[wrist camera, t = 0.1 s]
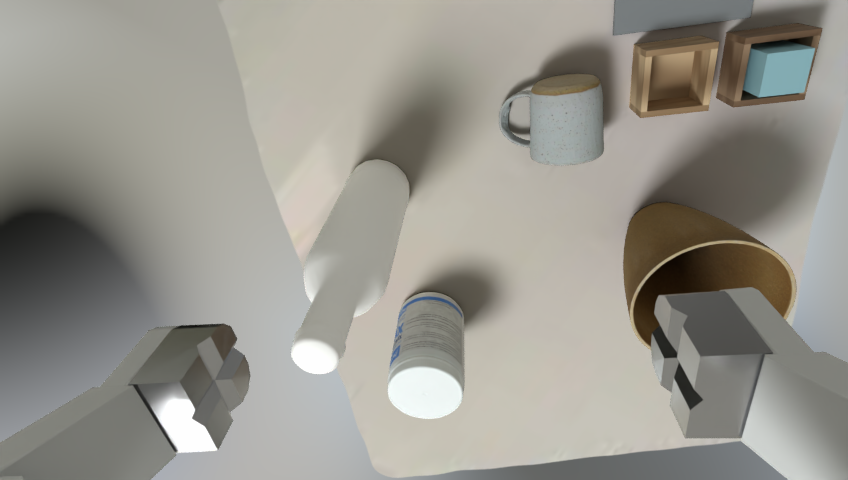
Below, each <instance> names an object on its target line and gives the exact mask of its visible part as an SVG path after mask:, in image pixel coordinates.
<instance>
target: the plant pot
mask: <svg viewBox="0 0 848 480" xmlns="http://www.w3.org/2000/svg"><path fill="white" fill-rule="evenodd" d="M623 270H624V286H625V293H626V299H627V305H628V311H629V316H630V320H631V325H632V328H633V331H634V333H635V334H636V336H637V338H638V339H639V340H640V341H641V342H642V343H643V344H644V345H645V346H646V347H647V348H649V349H650V350H651V338H652V332H653V331H654V330H655V329H656V328H657V327H658V326H659V325H660V324H659V322H658V320H657V318H656V316H655V314H654V311H655V304H656V300H657V298H658V296H659V295H669V294H683V293H697V292H711V291H720V290H726V289H737V288H748V287H752V288H755V289H757V290H759V291H760V292H761V293H762V295H763V296H764V297H765V298H766V299H767V300H768V301H769V302H770V304H771V305H772V306H773V307H774V308H775V309H776V310H777V311H778V313H779V314H780V315H781V316H782V317H783V318H784V319H785V320H786V319H787V317H788V315H789V313H790V311H791V309H792V307H793V305H794V302H795V297H796V280H795V277H794V274H793V271H792V269H791V267H790V266H789V264H788V263H787V262H786V261H785V260H784V259H783V258H782V257H781V256H780V255H779V254H778V253H776V252H775V251H773V250H772V249H770V248H769V247H767V246H766V245H764V244H763V243H761V242H760V241H758V240H756V239H755V238H753V237H752V236H750V235H749V234H747V233H745V232H743V231H742V230H740V229H738V228H736V227H734V226H732V225H730V224H729V223H727V222H725V221H723V220H721V219H718V218H716V217H714V216H712V215H709V214H707V213H704V212H702V211H699V210H696V209H693V208H690V207H686V206H683V205H679V204H674V203H668V202H660V203H655V204H651V205H649V206H646V207H645V208H643V209H641V210H640V211H639V212H638V213H636V214H635V216H634V217H633V218H632V219H631V221H630V223H629V226H628V229H627V234H626V239H625V247H624V261H623Z"/></svg>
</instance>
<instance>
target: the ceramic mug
mask: <svg viewBox="0 0 848 480" xmlns="http://www.w3.org/2000/svg"><path fill="white" fill-rule="evenodd" d="M521 97H530V141H529V140H524V139H521V138H519V137H517V136H515V135H514V134H513V133H512V132H511V131H510V129H509V126H508V114H509V111H510V106H509V105H510V102H511V101H513V100H514V99H516V98H521ZM499 125H500V129H501V131H502V133H503V135H504V136H505V137H506V138H507V139H508V140H510V141H511V142H513V143H515V144H517V145H520V146H523V147H529V148H530V156H531V158H532V159H533V160H534V161H536V162H539V163H542V164H546V165H557V166H564V165H575V164H581V163H586V162H590V161H593V160H595V159H597V158H598V157H600V156H601V155H602V153H603V151H604V140H603V93H602V88H601V83H600V80H599V79H598V78H597V77H596V76H594V75H591V74H567V75H560V76H554V77H549V78H546V79H543V80H540V81H538V82H537V83H535V85H534V86H533V87H532V90H531V91H522V92H519V93H516V94H514V95H512V96H511V97H509V98H508V99H507V100H506V101H505V102H504V104H503V105H502V107H501V110H500V114H499Z"/></svg>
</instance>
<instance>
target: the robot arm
mask: <svg viewBox="0 0 848 480" xmlns="http://www.w3.org/2000/svg"><path fill="white" fill-rule="evenodd" d="M654 314H655V316H656V318H657V320H658V322H659V324H660V325H659V326H658V327H657V328H656V329H655V330H654V331H653V332H652V338H651V354H652V362H653V366H654V369H655V373H656V375H657V378H658V380H659V382H660V385H661V386H663V387H664V388H666V389H667V390H669V391H670V392H672V395H671V402H670V407H671V409H672V411H673V413H674V415H675V417H676V420H677V422H678V424H679V426H680V428H681V430H682V433H683V435H684V437H685V438H742V439H741V441H742V442H743V443H744V444H746V445H747V446H748V447H749V448H751V449H752V450H753V451H754V452H755V453H757V454H758V455H759V456H760V457H761V458H763V459H764V460H765V461H766V462H768V463H769V464H770V465H771V466H772V467H774V468H775V469H776V470H777V471H778V472H780V473H781V474H782V475H783V476H784V477H786V478H787V479H788V480H848V363H847V362H845V361H843V360H840V359H838V358H836V357H834V356H832V355H830V354H828V353H826V352H813V351H812V350H811V348H810V347H809V346H808V345H807V344H806V343H805V342H804V341H803V339H802V338H801V337H800V336H799V335H798V334H797V333H796V332H795V331H794V329H793V328H792V327H791V326H790V325H789V324H788V323H787V322H786V320H785V319H784V318H783V317H782V316H781V315H780V314H779V313H778V311H777V310H776V309H775V308H774V307H773V306H772V305H771V304H770V302H769V301H768V300H767V299H766V298H765V297H764V296H763V295H762V293H761V292H760V291H759V290H757V289H755V288H752V287H748V288H737V289H726V290H720V291H711V292H697V293H683V294H669V295H659V296H658V298H657V300H656V304H655V311H654ZM236 341H237V337H236V336H235V334H234V332H233V330H232V328H231V327H230V326H228V325H226V324H205V325H181V326H166V327H156V328H154V329H151V330H149V331H148V332H147V333H146V334H145V336H144V337H143V338H142V339H141V340H140V341H139V343H138V344H137V345H136V346H135V347H134V348H133V349H132V351H131V352H130V353H129V354H128V355H127V356H126V357H125V359H124V360H123V361H122V362H121V363H120V364H119V366H118V367H117V368H116V369H115V370H114V371H113V373H112V374H111V375H110V376H109V377H108V378H107V379H106V381H105V382H104V383H103V384H102V385H101V386H100V387H93V388H91V389H89V390H87V391H86V392H84V393H83V394H81V395H79V396H78V397H76V398H74V399H72V400H71V401H69V402H68V403H66V404H64V405H62V406H61V407H59V408H58V409H56V410H55V411H52V412H51V413H49V414H47V415H46V416H44V417H43V418H41V419H39V420H37V421H36V422H34V423H32V424H31V425H29V426H27V427H26V428H24V429H22V430H21V431H19V432H17V433H16V434H14V435H12V436H11V437H9V438H7V439H6V440H4V441H2V442H0V480H151V479H152V478H153V477H154V476H155V475H156V474H157V473H158V472H159V471H160V470H161V469H162V468H163V467H164V466H165V465H166V464H168V463H169V462H170V461H171V460H172V459H173V458H174V457H175V456H176V453H182V452H200V451H217V450H218V449H219V447H220V445H221V443H222V441H223V439H224V437H225V435H226V434H227V432H228V430H229V428H230V426H231V424H232V422H233V419H232V416H231V413H230V412H231V411H232V410H233V409H235V408H236V407H237V406H238V405H240V404H241V403H242V402H243V400H244V398H245V396H246V394H247V391H248V388H249V380H250V371H249V365H248V362H247V360H246V358H245V355H243V354H242V353H240V352H239V351H238V350H236V349H235V348H234V346H235V343H236Z"/></svg>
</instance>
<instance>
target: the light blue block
mask: <svg viewBox="0 0 848 480" xmlns="http://www.w3.org/2000/svg"><path fill="white" fill-rule="evenodd" d="M814 51H815V48H813V47H809V46H805V45H802V44H798V43H794V42H790V41H786V40H778V41H770V42H762V43H754V44H751V48H750V53H749V59H748V64H747V69H746V75H745V80H744V85H743V90H744V91H747V92H749V93H751V94H753V95H755V96H757V97H767V96H776V95H785V94H794V93H803V92H804V91H805V87H806V83H807V79H808V75H809V71H810V67H811V63H812V59H813V55H814Z"/></svg>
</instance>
